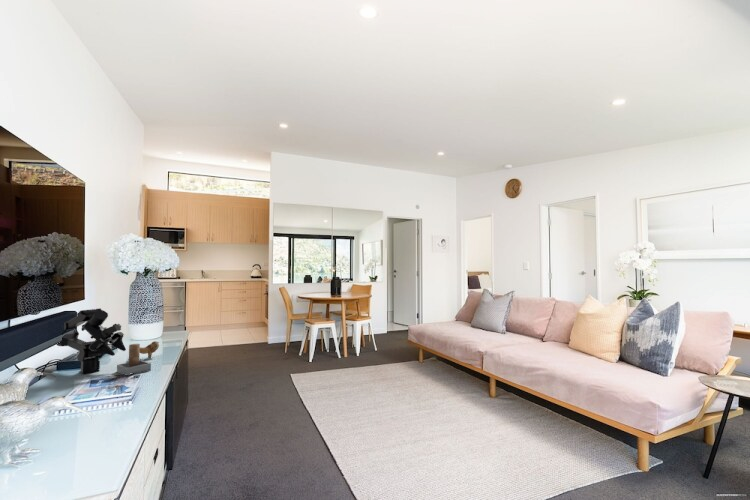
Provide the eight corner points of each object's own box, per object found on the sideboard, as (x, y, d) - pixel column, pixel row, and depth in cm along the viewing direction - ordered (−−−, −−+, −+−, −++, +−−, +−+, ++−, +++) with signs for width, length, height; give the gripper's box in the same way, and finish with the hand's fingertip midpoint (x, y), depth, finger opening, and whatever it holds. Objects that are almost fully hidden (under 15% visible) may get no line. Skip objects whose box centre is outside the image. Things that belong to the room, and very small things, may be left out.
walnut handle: (126, 371, 175) (127, 346, 175) (129, 369, 179) (129, 344, 180) (138, 370, 177) (139, 345, 177) (140, 368, 181) (141, 343, 182)
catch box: (126, 375, 170) (126, 368, 171) (116, 371, 176) (117, 364, 177) (150, 370, 179) (150, 363, 179) (140, 366, 185) (141, 359, 186)
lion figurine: (157, 355, 208) (157, 340, 208) (159, 357, 204) (160, 341, 204) (127, 360, 198) (127, 343, 198) (128, 362, 194) (129, 345, 195)
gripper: (97, 322, 168) (121, 345, 169) (120, 316, 187) (142, 337, 188) (78, 339, 167) (102, 362, 168) (103, 331, 186) (125, 352, 187)
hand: (119, 352), depth 178 cm, fingers open, 9 cm apart
